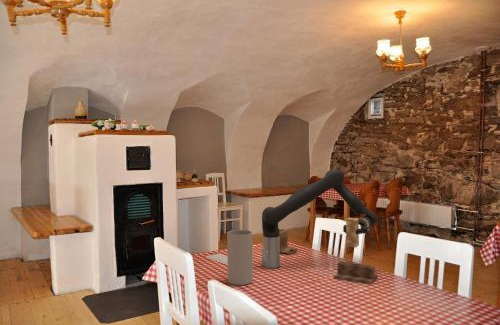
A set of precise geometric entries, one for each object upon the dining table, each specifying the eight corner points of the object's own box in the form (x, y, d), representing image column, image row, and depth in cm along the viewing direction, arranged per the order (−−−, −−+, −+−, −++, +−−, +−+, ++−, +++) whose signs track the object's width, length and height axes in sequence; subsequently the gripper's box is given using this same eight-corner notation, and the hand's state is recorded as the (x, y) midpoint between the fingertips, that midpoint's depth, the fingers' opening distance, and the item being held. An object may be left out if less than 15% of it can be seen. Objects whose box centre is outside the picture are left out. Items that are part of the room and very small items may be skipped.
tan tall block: (346, 246, 229) (346, 219, 228) (349, 244, 233) (349, 217, 232) (356, 247, 226) (355, 220, 225) (358, 245, 231) (358, 218, 230)
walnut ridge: (333, 278, 229) (333, 265, 229) (341, 272, 239) (341, 259, 239) (371, 284, 219) (371, 270, 219) (377, 277, 230) (377, 264, 229)
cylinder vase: (256, 279, 228) (256, 231, 227) (246, 287, 217) (245, 235, 216) (234, 276, 233) (234, 229, 232) (223, 283, 222) (222, 233, 221)
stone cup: (267, 252, 284) (267, 228, 283) (280, 248, 292) (280, 226, 291) (286, 256, 273) (285, 232, 272) (298, 253, 281) (298, 229, 281)
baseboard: (235, 270, 247) (251, 266, 255) (235, 265, 247) (251, 261, 254) (202, 259, 270) (218, 256, 278) (202, 254, 270) (218, 251, 278)
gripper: (347, 217, 245) (337, 223, 230) (373, 219, 238) (365, 225, 223) (347, 231, 245) (337, 237, 231) (373, 233, 238) (365, 240, 223)
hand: (351, 231), depth 227 cm, fingers closed on tan tall block, 5 cm apart
